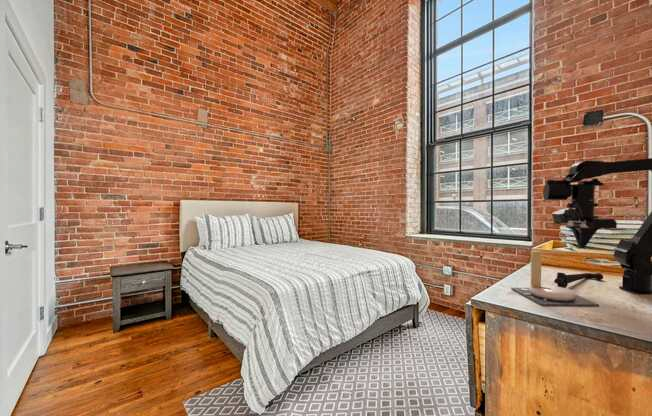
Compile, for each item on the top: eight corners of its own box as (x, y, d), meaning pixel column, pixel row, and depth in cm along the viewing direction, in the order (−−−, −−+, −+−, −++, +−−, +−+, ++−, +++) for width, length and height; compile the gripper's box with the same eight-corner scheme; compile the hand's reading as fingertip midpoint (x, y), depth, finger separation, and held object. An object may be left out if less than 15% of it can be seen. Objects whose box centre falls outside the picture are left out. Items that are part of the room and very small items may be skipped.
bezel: (559, 289, 96) (559, 286, 96) (599, 306, 81) (599, 303, 81) (510, 289, 97) (510, 286, 97) (540, 305, 82) (540, 302, 82)
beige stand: (541, 286, 97) (542, 248, 96) (583, 296, 87) (583, 254, 86) (521, 292, 92) (521, 251, 91) (562, 303, 82) (563, 258, 81)
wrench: (604, 285, 106) (572, 292, 90) (586, 282, 110) (552, 289, 94) (604, 270, 106) (572, 275, 90) (585, 268, 111) (552, 272, 94)
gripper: (538, 200, 107) (537, 243, 108) (579, 200, 89) (578, 253, 89) (570, 199, 106) (570, 243, 107) (618, 200, 88) (617, 253, 88)
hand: (581, 247), depth 98 cm, fingers closed
